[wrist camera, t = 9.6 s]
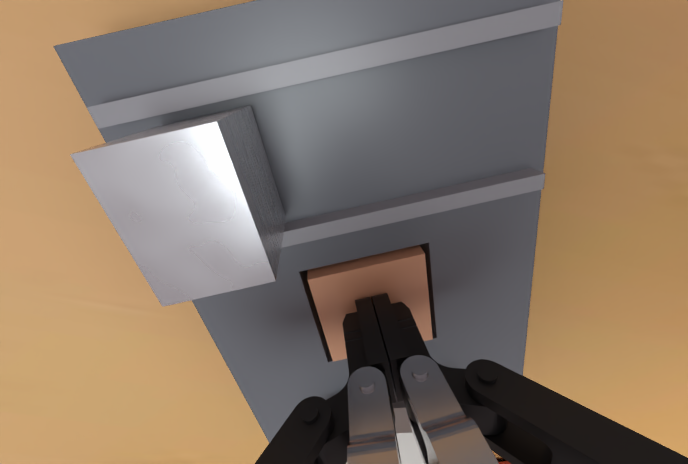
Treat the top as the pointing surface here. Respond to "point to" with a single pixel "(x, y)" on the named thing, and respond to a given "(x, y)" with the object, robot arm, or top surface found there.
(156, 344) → the top surface
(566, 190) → the top surface
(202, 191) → the slider knob
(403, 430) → the block
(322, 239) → the panel
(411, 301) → the push button
